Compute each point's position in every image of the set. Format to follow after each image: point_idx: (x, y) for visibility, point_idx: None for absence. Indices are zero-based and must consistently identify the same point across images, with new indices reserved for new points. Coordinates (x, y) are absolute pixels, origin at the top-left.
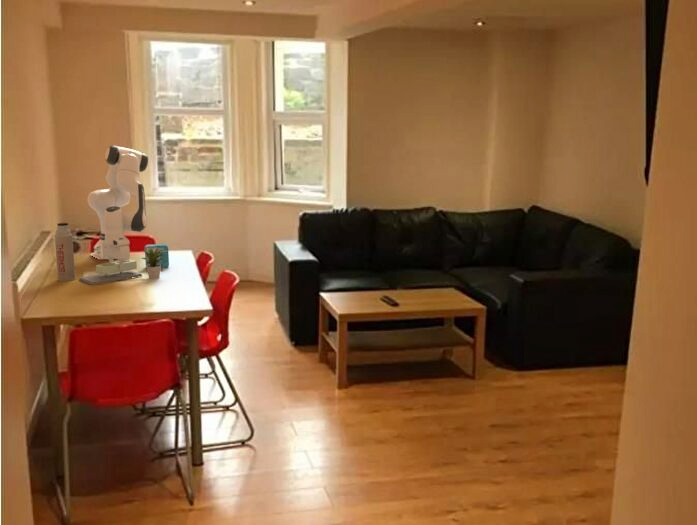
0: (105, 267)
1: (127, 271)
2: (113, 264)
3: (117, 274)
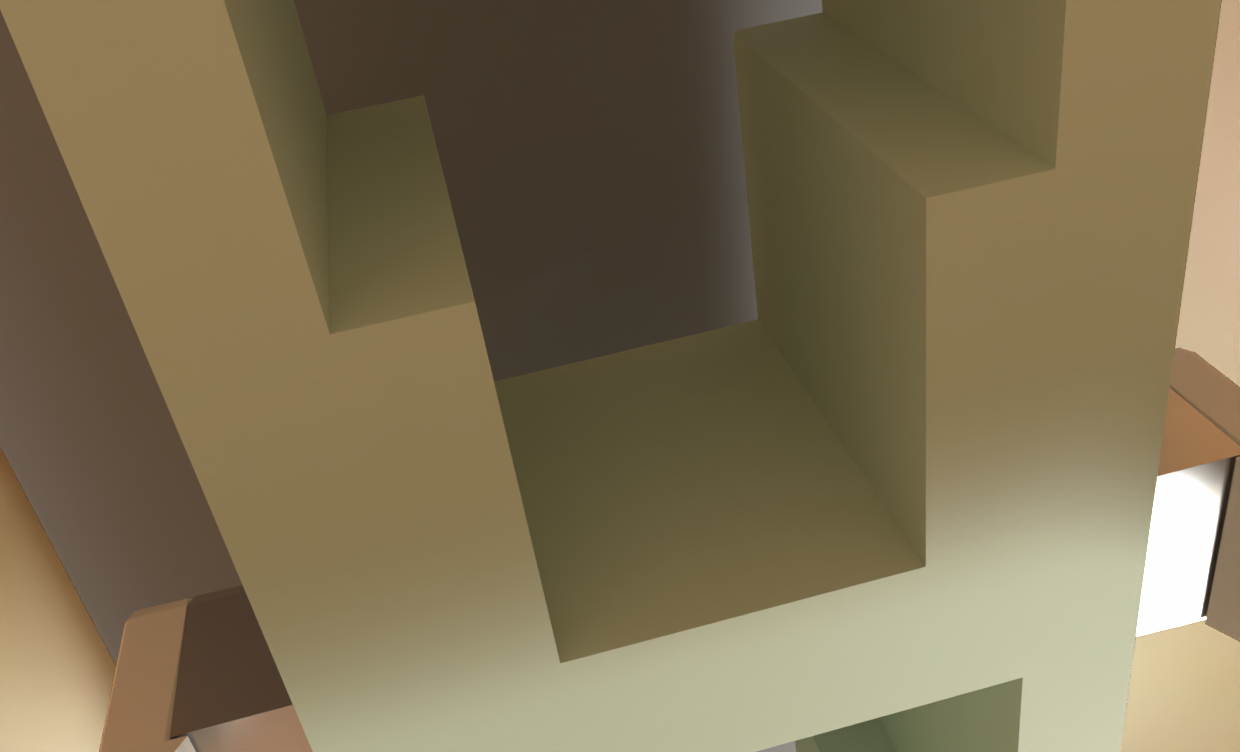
0: None
1: None
2: (433, 474)
3: (601, 340)
